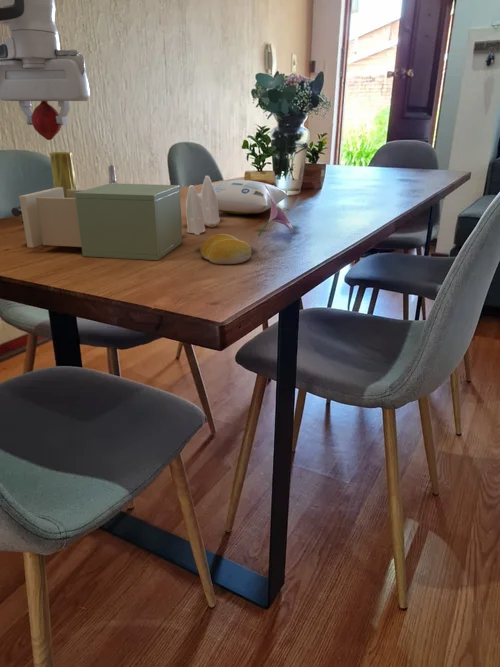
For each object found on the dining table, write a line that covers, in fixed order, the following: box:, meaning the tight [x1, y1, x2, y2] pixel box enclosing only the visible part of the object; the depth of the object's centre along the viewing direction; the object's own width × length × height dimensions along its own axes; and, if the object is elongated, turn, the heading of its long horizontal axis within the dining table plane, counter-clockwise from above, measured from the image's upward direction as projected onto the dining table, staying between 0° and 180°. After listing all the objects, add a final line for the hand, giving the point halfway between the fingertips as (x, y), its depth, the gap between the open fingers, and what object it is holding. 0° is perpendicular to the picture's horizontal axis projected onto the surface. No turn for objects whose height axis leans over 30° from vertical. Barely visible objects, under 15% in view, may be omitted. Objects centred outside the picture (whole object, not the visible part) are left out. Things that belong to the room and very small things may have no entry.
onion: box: [32, 101, 62, 141], centre depth 107 cm, size 6×6×8 cm
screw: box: [107, 164, 118, 184], centre depth 112 cm, size 13×5×5 cm
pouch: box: [197, 179, 289, 215], centre depth 129 cm, size 8×19×20 cm
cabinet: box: [75, 182, 183, 261], centre depth 91 cm, size 14×14×11 cm
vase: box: [49, 151, 78, 198], centre depth 128 cm, size 6×6×14 cm
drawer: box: [11, 187, 84, 248], centre depth 94 cm, size 17×13×9 cm
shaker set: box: [184, 175, 221, 236], centre depth 109 cm, size 12×4×11 cm, turn 156°
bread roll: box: [199, 233, 252, 265], centre depth 87 cm, size 8×9×4 cm
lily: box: [257, 187, 297, 239], centre depth 103 cm, size 12×12×10 cm
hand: (47, 125), depth 107 cm, fingers closed on onion, 6 cm apart
